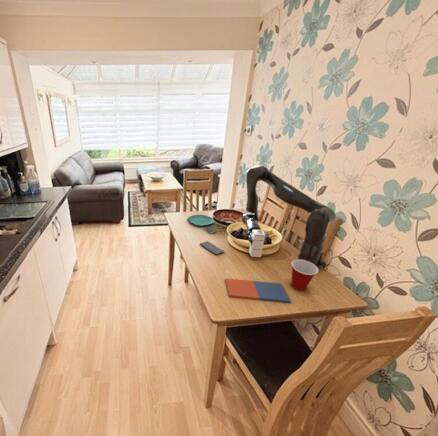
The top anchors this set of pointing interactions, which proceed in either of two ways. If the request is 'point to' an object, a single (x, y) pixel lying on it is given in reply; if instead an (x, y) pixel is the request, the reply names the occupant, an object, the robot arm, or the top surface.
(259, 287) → the mat
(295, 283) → the plastic cup
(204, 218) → the teal oval plate
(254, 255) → the syrup box
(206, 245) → the smartphone
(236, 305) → the top surface
